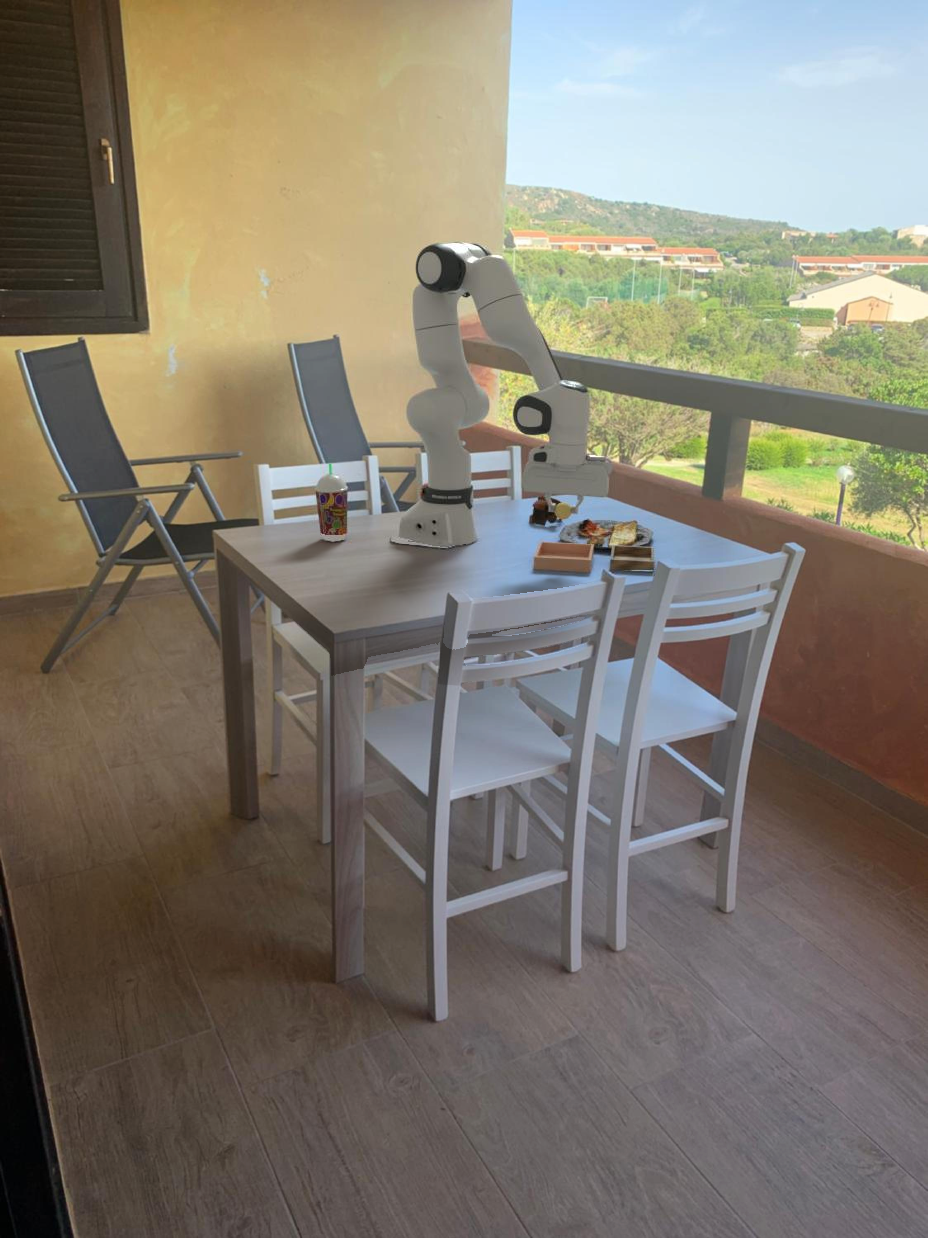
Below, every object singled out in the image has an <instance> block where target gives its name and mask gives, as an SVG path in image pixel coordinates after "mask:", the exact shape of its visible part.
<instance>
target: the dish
mask: <svg viewBox="0 0 928 1238" xmlns="http://www.w3.org/2000/svg"><path fill="white" fill-rule="evenodd" d="M538 543H539V544H538V546H537V548H536V551H535V554H534V556H533V570H538V571H539V570H541V571H558V572H564V571H565V572H573V573H574V572H576V573H577V572H578V573H579V572H580V573H591V570H592V565H593V561H594V560H593V559H594V554H595V553H594V551H595V550H594V549H595V548H594V544H586V543H581V544H579V543H580V542H578V543H572V542H556V541H555V542H552V541H539V542H538Z"/></svg>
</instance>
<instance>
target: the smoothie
mask: <svg viewBox="0 0 928 1238" xmlns="http://www.w3.org/2000/svg"><path fill="white" fill-rule="evenodd" d="M328 471H329V472H328V474H324V475H323V476H321V477H320V479H319V480H318V481H317V484H316V486H315V487H314V490H315V498H316V499H315V500H316V506H317V516H318V523H319V531H320V534H321V533H322V534H325V535H343V534H346V533H347V534H348V494H349V493H348V489H349V487H348V486H347V483H346V482H345V480H344V478H342V477H341V476H339V475H338V474H335V473H333V470H332V463H331V462H330V463H328Z"/></svg>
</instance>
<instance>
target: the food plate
mask: <svg viewBox="0 0 928 1238" xmlns="http://www.w3.org/2000/svg"><path fill="white" fill-rule="evenodd" d="M653 534H654V532H653V530H651V529H649V528H648V527H644V526H642V525H641V524H638V521H637V520H631V521H616V520H612V519H611V520H610V519H609V520H608V519H607V520H604V519H602V520H601V519H598V520H597V519H595V520H591V519H590V518H586V519H584V520H583V521H582V520H581V521H577V522H574V523H573V522H572V523H570V524H567V525H564V527H563V528H562V530H561V531H560V532H559V533H558V535H557V537H558V538H560V540H561V541H563V542H566V543H579V544H582V543H580V542H578V539H580V541H582V542H586V543H585V544H594V549H602V550H603V549H604V550H610V549H611V550H612V545H620V546H642V545H646V544H649V542H650V541H651V539H652V536H653ZM606 543H607V546H603V544H606Z"/></svg>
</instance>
